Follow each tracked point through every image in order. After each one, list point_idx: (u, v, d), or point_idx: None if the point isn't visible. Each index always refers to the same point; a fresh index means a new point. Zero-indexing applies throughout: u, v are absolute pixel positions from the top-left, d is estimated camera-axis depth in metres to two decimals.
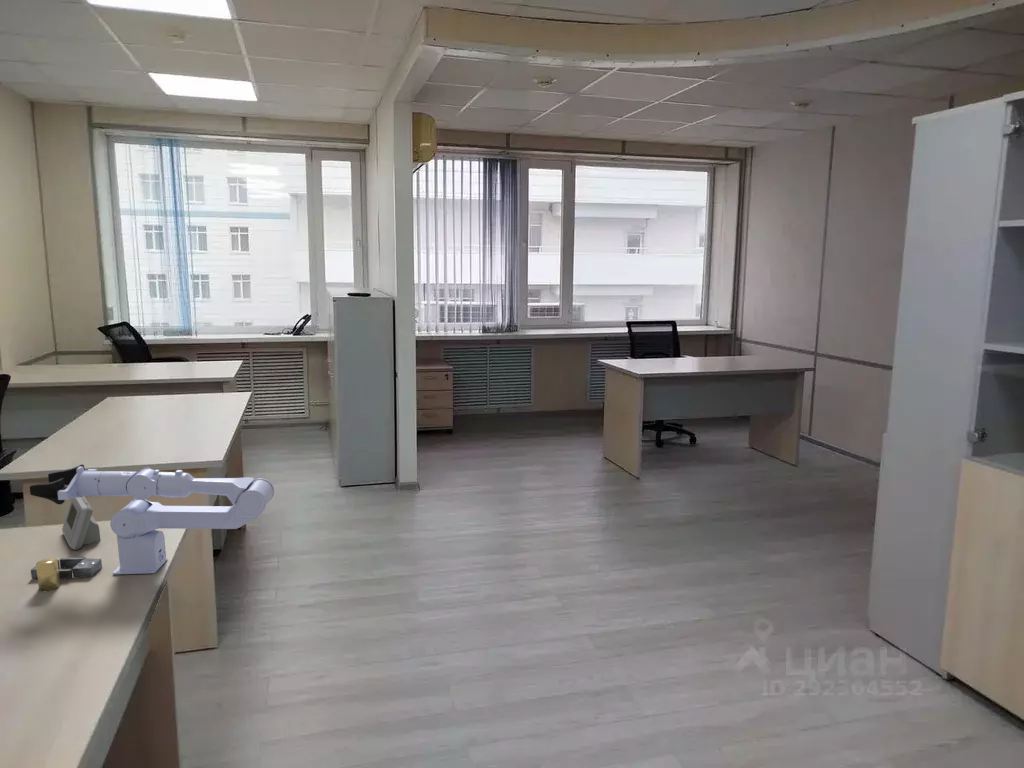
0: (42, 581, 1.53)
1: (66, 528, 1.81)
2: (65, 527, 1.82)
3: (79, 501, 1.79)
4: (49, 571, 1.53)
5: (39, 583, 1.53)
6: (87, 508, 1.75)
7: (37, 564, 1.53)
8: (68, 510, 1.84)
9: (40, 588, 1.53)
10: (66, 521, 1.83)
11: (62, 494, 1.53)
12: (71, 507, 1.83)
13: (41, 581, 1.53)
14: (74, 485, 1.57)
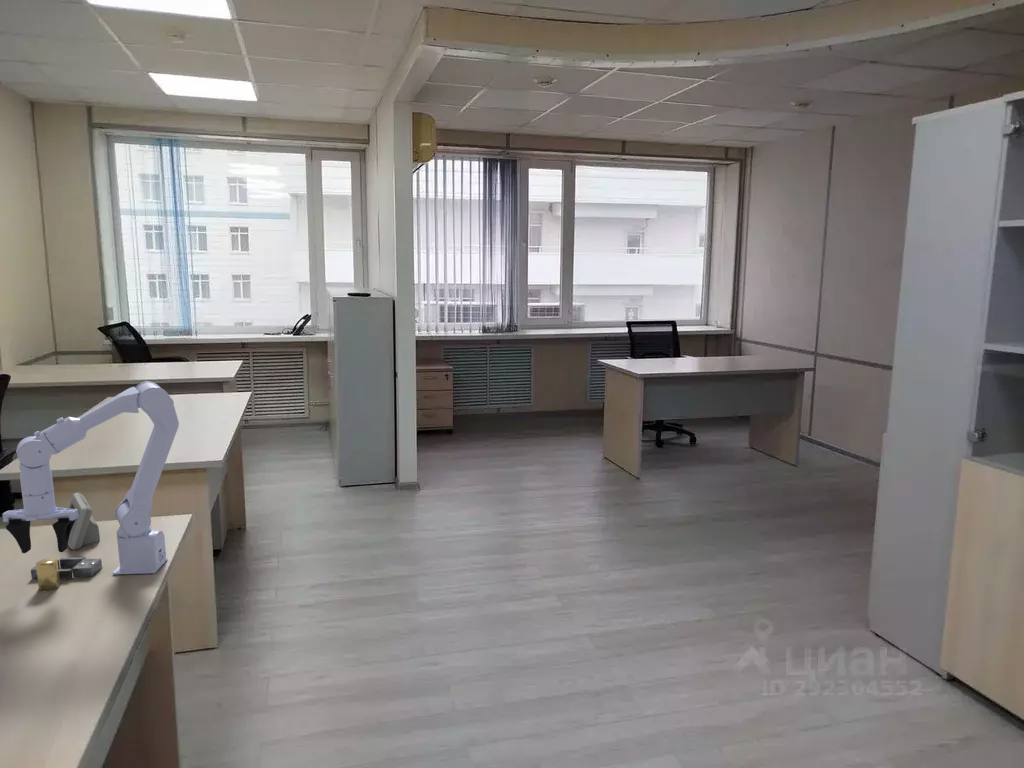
0: (42, 581, 1.53)
1: None
2: None
3: (79, 501, 1.79)
4: (49, 571, 1.53)
5: (39, 583, 1.53)
6: (86, 508, 1.75)
7: (37, 564, 1.53)
8: None
9: (40, 588, 1.53)
10: None
11: (75, 514, 1.52)
12: (71, 507, 1.83)
13: (41, 581, 1.53)
14: (53, 513, 1.52)
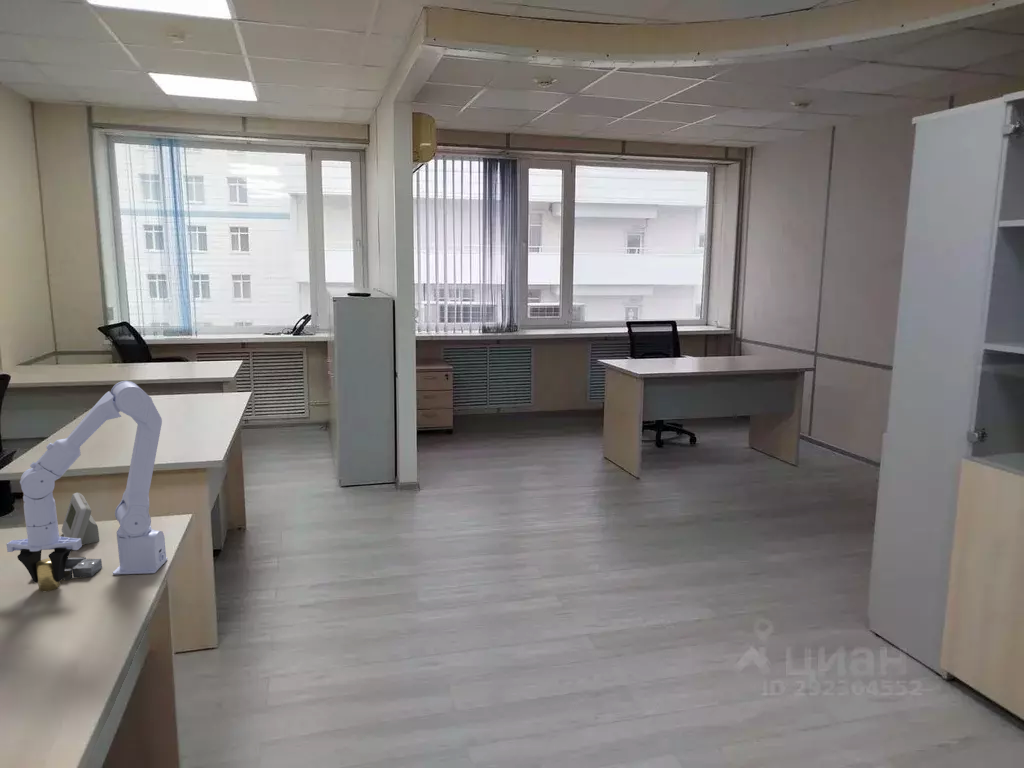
0: (42, 581, 1.53)
1: (65, 528, 1.81)
2: (64, 527, 1.82)
3: (78, 501, 1.79)
4: (49, 571, 1.53)
5: (39, 583, 1.53)
6: (86, 508, 1.75)
7: (37, 564, 1.53)
8: (67, 510, 1.84)
9: (40, 588, 1.53)
10: (65, 521, 1.83)
11: (78, 544, 1.54)
12: (70, 507, 1.83)
13: (41, 581, 1.53)
14: (56, 543, 1.53)
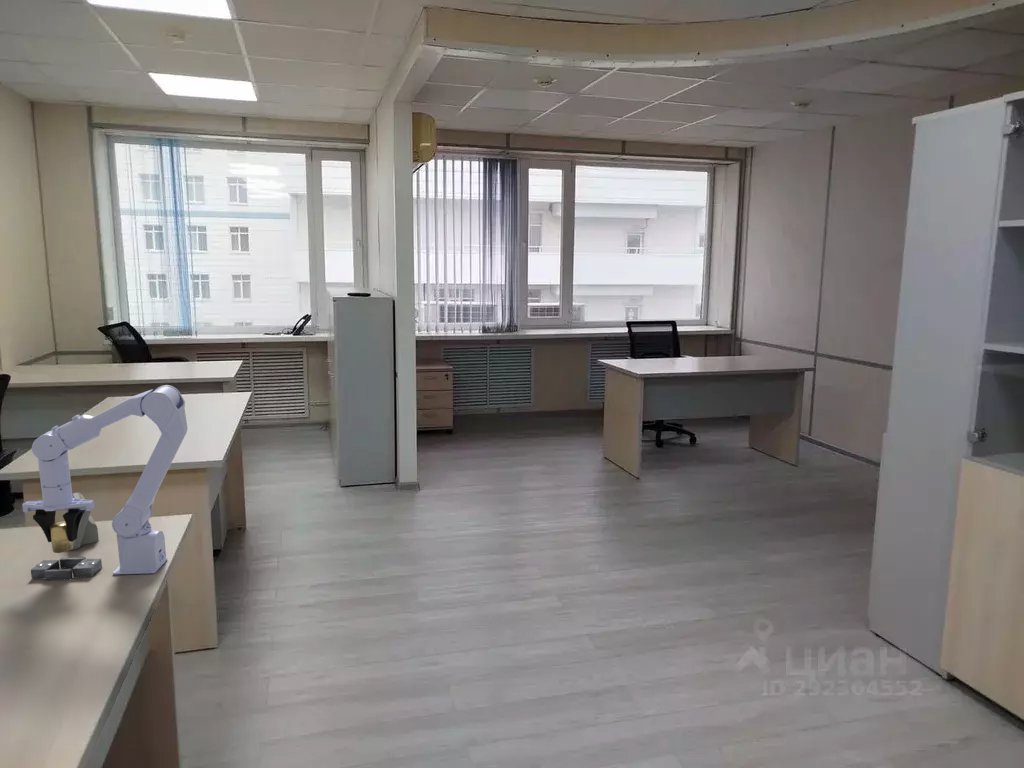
0: (56, 543, 1.58)
1: None
2: None
3: None
4: (62, 533, 1.58)
5: (53, 545, 1.59)
6: None
7: (51, 526, 1.58)
8: (67, 510, 1.84)
9: (54, 549, 1.59)
10: None
11: (91, 505, 1.59)
12: None
13: (55, 543, 1.58)
14: (70, 504, 1.58)
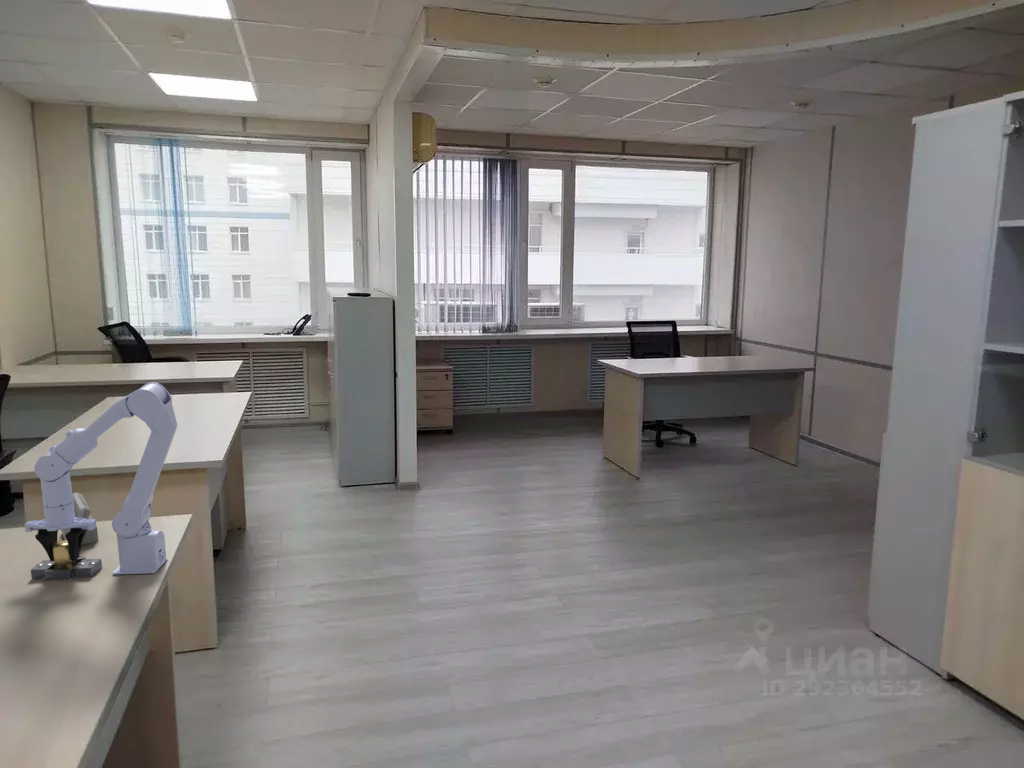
0: (58, 562, 1.59)
1: None
2: None
3: (77, 501, 1.79)
4: (65, 552, 1.59)
5: (55, 564, 1.60)
6: (84, 508, 1.74)
7: (53, 546, 1.59)
8: None
9: (56, 569, 1.60)
10: None
11: (93, 525, 1.60)
12: None
13: (57, 562, 1.59)
14: (72, 524, 1.59)
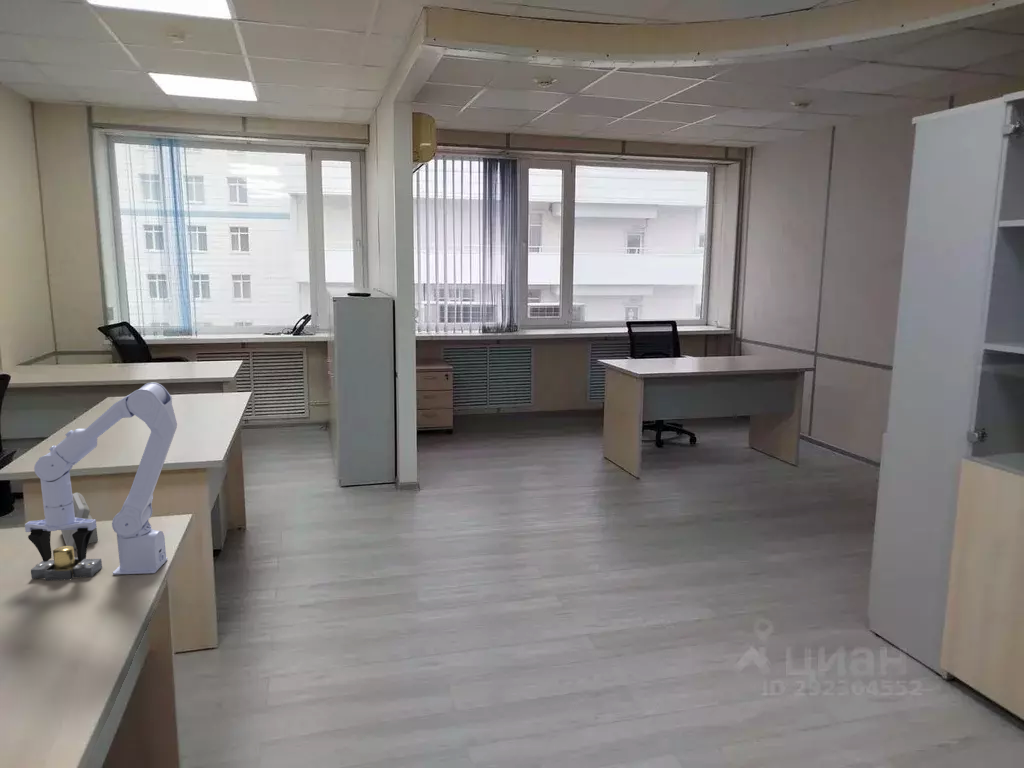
0: (59, 567, 1.59)
1: None
2: None
3: (77, 501, 1.79)
4: (66, 558, 1.60)
5: None
6: (84, 508, 1.74)
7: (54, 551, 1.59)
8: None
9: None
10: None
11: (93, 525, 1.60)
12: None
13: (58, 567, 1.59)
14: (72, 524, 1.59)
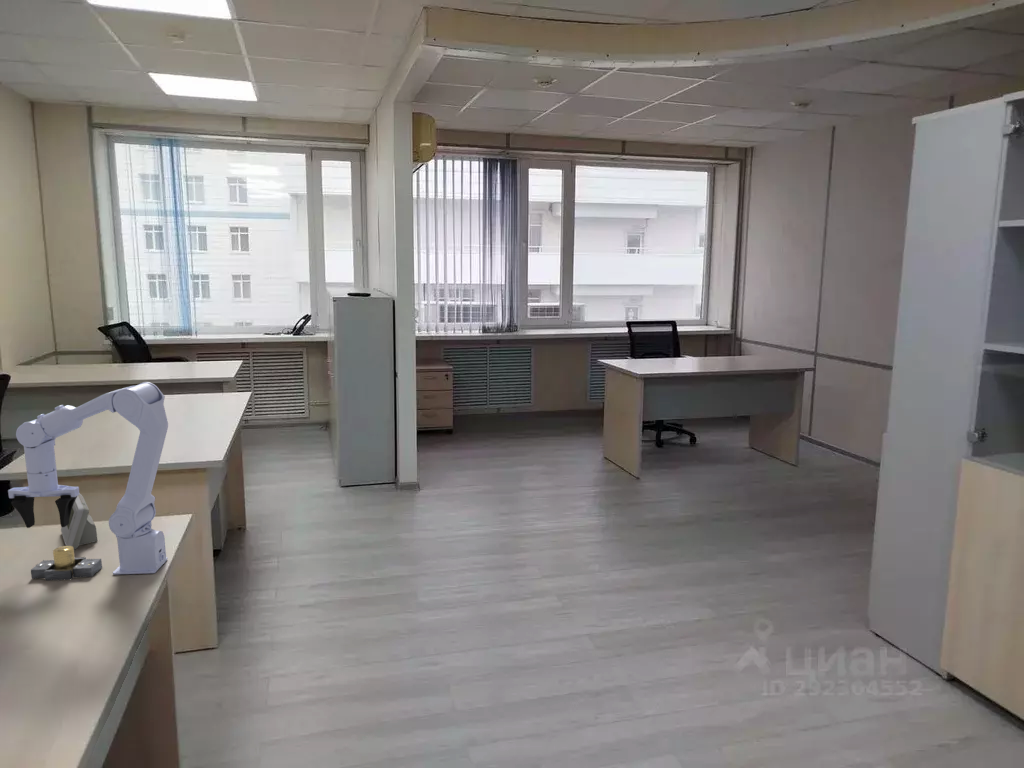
0: (59, 567, 1.59)
1: (64, 528, 1.81)
2: (63, 527, 1.82)
3: (76, 501, 1.79)
4: (66, 558, 1.60)
5: None
6: (83, 508, 1.74)
7: (54, 551, 1.59)
8: None
9: None
10: None
11: (76, 492, 1.63)
12: None
13: (58, 567, 1.59)
14: (56, 490, 1.62)
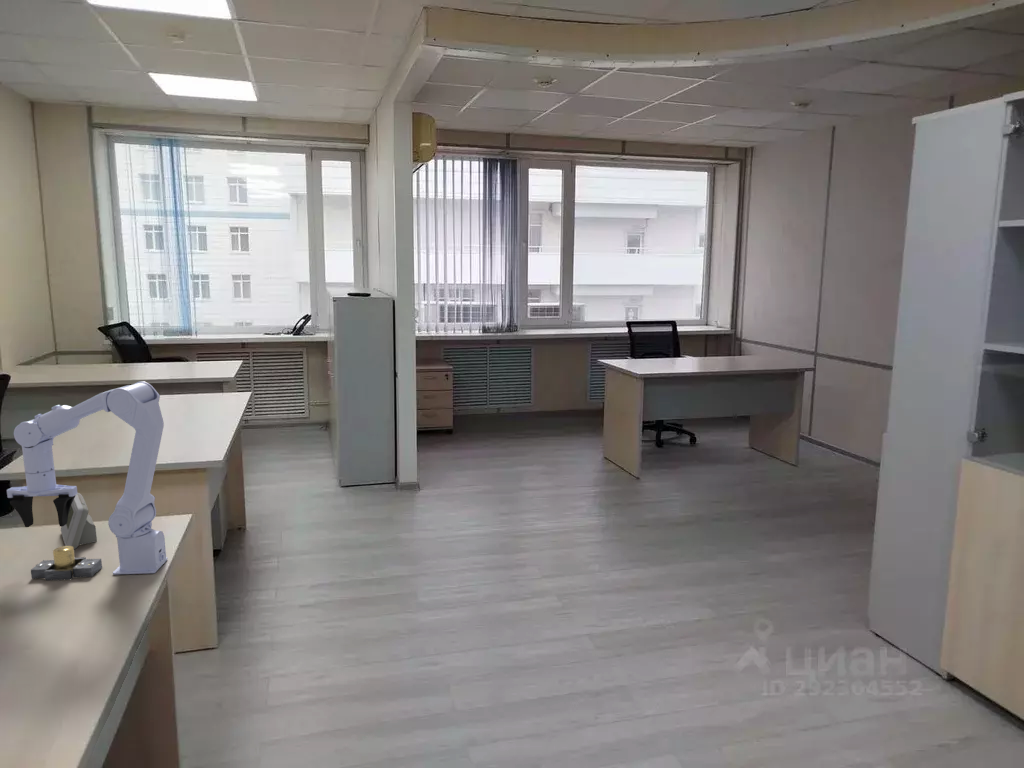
0: (59, 567, 1.59)
1: (64, 528, 1.81)
2: (63, 527, 1.82)
3: (76, 501, 1.79)
4: (66, 558, 1.60)
5: None
6: (83, 508, 1.74)
7: (54, 551, 1.59)
8: None
9: None
10: None
11: (74, 491, 1.63)
12: None
13: (58, 567, 1.59)
14: (54, 490, 1.63)
